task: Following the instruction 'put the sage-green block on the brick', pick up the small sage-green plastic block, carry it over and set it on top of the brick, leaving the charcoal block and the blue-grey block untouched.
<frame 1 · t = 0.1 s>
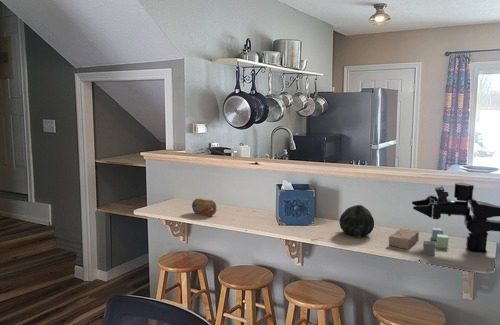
hand: (412, 205, 183), 17 cm above the table, tool horizontal, fingers open, 9 cm apart
bluegrey block: (436, 238, 192), on the table
green block: (441, 246, 182), on the table
squash: (356, 234, 197), on the table
charcoal block: (428, 253, 173), on the table
brick: (403, 243, 187), on the table
tin: (204, 215, 230), on the table
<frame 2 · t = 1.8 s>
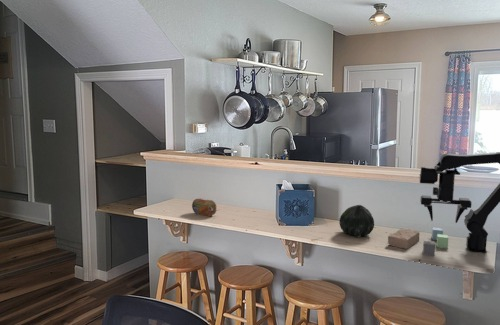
hand: (443, 221, 180), 10 cm above the table, tool pointing down, fingers open, 9 cm apart
nothing on the table moved.
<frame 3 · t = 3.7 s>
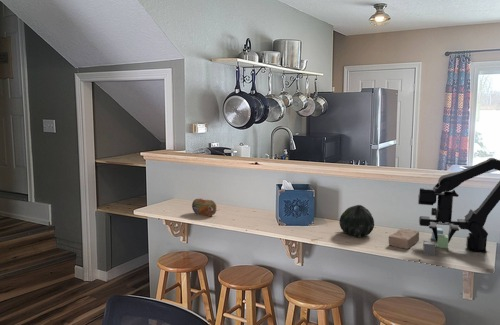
hand: (442, 242, 182), 2 cm above the table, tool pointing down, fingers closed on green block, 4 cm apart
green block: (441, 246, 182), on the table, touching gripper
everything else where it was.
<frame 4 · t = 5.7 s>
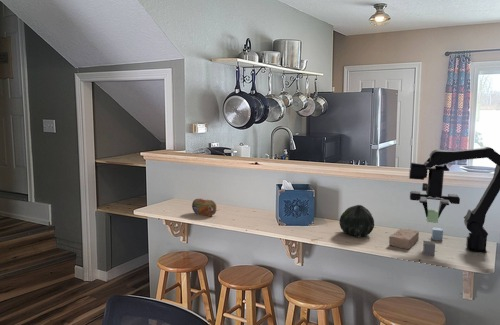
hand: (432, 217, 182), 12 cm above the table, tool pointing down, fingers closed on green block, 4 cm apart
green block: (432, 221, 182), point 10 cm above the table, touching gripper
everything else where it was.
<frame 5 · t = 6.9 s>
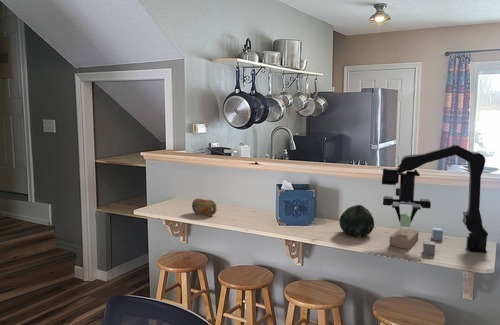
hand: (405, 221, 185), 9 cm above the table, tool pointing down, fingers closed on green block, 4 cm apart
green block: (405, 225, 185), point 8 cm above the table, touching gripper
everything else where it was.
when the fingers open (8 cm above the table, at t = 7.8 s): green block drops 2 cm, point 4 cm above the table.
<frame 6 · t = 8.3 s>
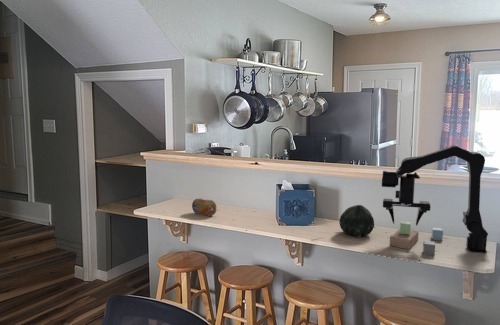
hand: (404, 224, 185), 8 cm above the table, tool pointing down, fingers open, 9 cm apart
green block: (404, 232, 186), point 4 cm above the table
everything else where it was.
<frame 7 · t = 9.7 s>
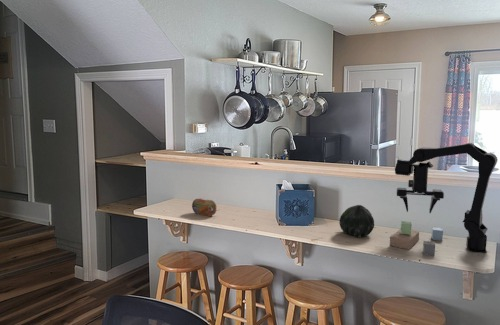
hand: (418, 212, 190), 12 cm above the table, tool pointing down, fingers open, 9 cm apart
green block: (405, 232, 186), point 4 cm above the table, touching brick
brick: (404, 243, 187), on the table, touching green block
everything else where it was.
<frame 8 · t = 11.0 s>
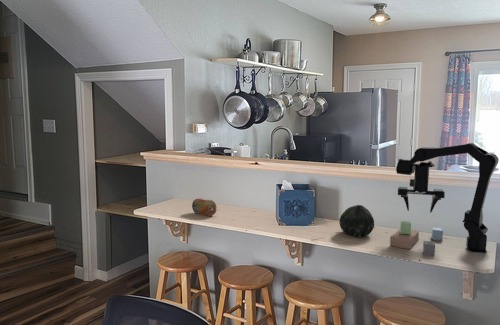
hand: (419, 211, 191), 12 cm above the table, tool pointing down, fingers open, 9 cm apart
nothing on the table moved.
at the end: green block 0.1 cm off-centre on the brick, point 4.8 cm above the brick's base; charcoal block moved 0.1 cm from its start; bluegrey block moved 0.1 cm from its start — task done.
